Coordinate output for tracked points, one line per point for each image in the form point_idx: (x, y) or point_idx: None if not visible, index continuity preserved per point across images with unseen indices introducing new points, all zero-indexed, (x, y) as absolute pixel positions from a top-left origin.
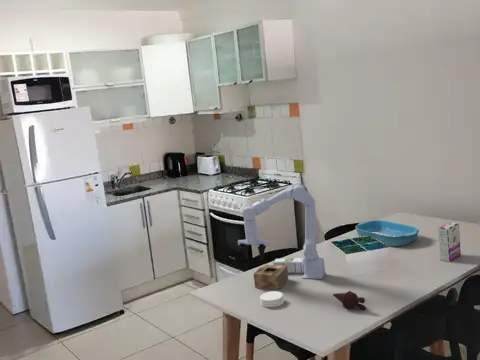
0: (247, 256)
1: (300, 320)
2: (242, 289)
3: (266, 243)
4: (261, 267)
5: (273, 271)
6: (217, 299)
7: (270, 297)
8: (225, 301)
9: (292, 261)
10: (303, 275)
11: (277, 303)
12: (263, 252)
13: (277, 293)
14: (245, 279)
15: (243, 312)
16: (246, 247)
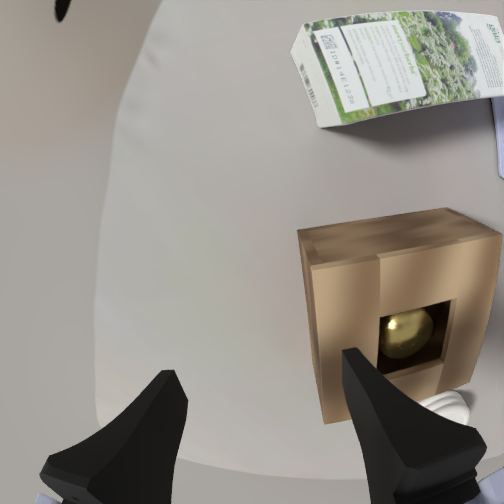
0: (173, 402)
1: (491, 430)
2: (258, 392)
3: (499, 499)
4: (330, 334)
5: (426, 320)
6: (222, 458)
7: None
8: (261, 461)
9: (479, 86)
10: (501, 151)
11: None
12: (392, 396)
13: (453, 418)
14: (182, 288)
15: (357, 474)
16: (137, 483)
